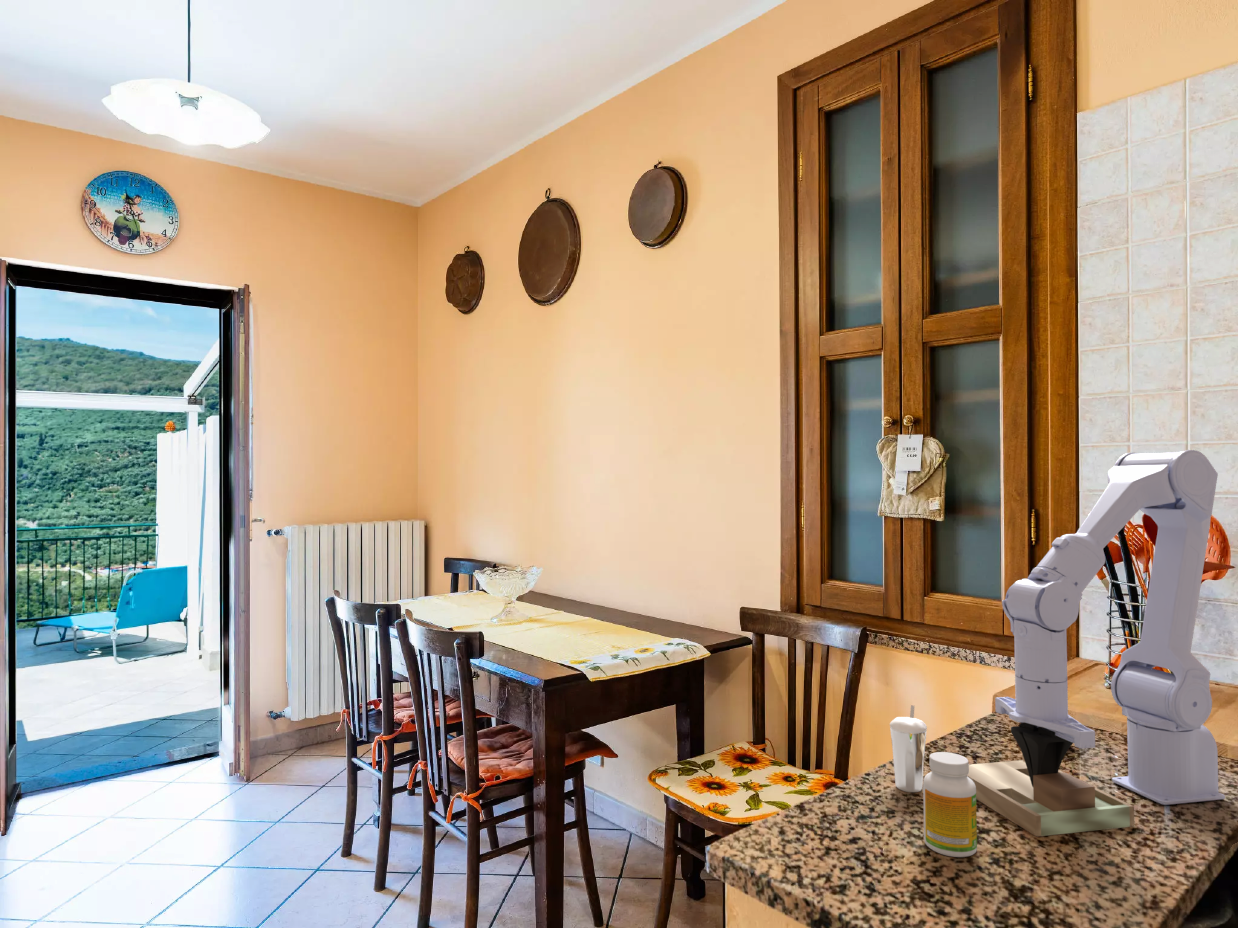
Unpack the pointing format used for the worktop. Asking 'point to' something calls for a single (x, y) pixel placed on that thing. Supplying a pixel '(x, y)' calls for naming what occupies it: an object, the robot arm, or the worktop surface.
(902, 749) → the milkshake
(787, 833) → the worktop surface
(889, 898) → the worktop surface
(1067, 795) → the walnut block
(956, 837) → the supplement bottle
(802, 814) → the worktop surface
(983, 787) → the tray
